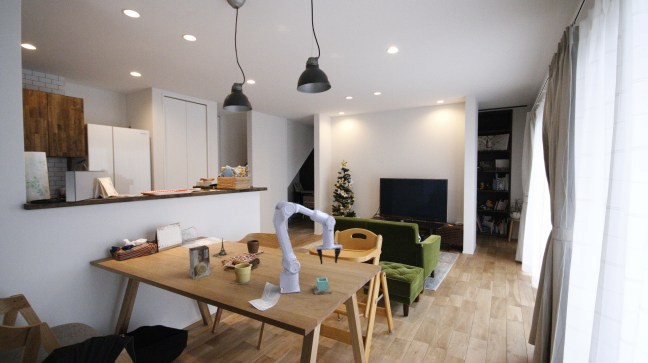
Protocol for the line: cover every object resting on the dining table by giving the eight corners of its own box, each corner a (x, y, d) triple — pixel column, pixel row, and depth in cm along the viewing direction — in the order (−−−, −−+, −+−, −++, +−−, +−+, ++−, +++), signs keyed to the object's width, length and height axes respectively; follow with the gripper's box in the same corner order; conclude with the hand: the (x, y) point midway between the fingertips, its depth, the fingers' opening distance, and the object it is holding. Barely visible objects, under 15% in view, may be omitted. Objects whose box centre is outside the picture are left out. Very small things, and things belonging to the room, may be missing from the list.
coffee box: (206, 272, 169) (205, 244, 168) (210, 274, 164) (209, 246, 164) (189, 276, 163) (188, 248, 162) (194, 279, 158) (193, 250, 157)
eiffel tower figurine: (223, 251, 212) (222, 233, 211) (235, 252, 209) (234, 234, 208) (209, 257, 198) (208, 238, 197) (221, 259, 195) (220, 239, 194)
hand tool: (255, 263, 184) (254, 256, 183) (260, 264, 182) (259, 257, 182) (234, 273, 167) (233, 265, 166) (239, 274, 165) (239, 266, 165)
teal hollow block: (318, 291, 138) (317, 282, 137) (316, 287, 142) (316, 278, 142) (328, 290, 138) (328, 281, 138) (326, 286, 143) (326, 277, 143)
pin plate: (315, 294, 136) (315, 285, 136) (313, 287, 144) (313, 279, 144) (331, 293, 137) (331, 284, 137) (329, 286, 145) (329, 277, 145)
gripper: (315, 240, 147) (315, 266, 148) (343, 238, 149) (343, 264, 150) (314, 237, 154) (314, 262, 155) (340, 235, 156) (341, 260, 157)
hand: (328, 263), depth 153 cm, fingers open, 7 cm apart
